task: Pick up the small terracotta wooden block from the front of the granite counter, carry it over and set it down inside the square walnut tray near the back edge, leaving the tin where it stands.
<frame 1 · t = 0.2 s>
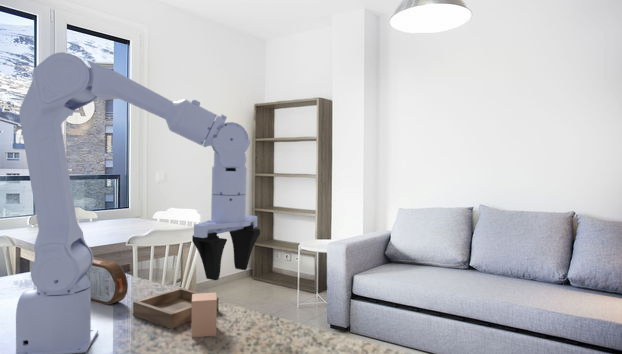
hand: (227, 273, 72), 10 cm above the kitchen counter, tool pointing down, fingers open, 7 cm apart
tin: (98, 301, 87), on the kitchen counter
block: (203, 331, 72), on the kitchen counter
tray: (176, 312, 80), on the kitchen counter
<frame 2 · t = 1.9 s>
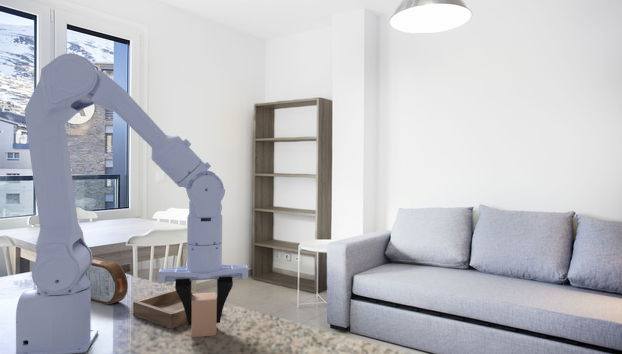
hand: (203, 321, 72), 2 cm above the kitchen counter, tool pointing down, fingers closed on block, 4 cm apart
block: (203, 331, 72), on the kitchen counter, touching gripper
everything else where it was.
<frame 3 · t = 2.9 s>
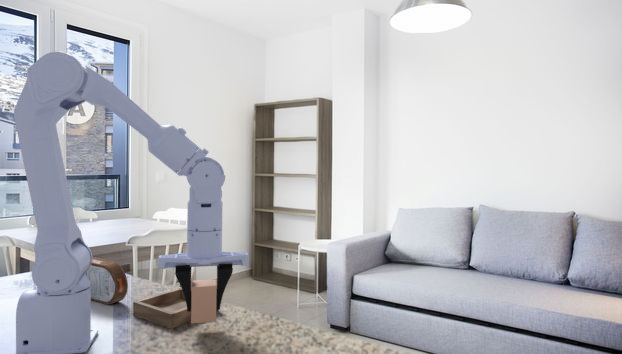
hand: (203, 308, 71), 4 cm above the kitchen counter, tool pointing down, fingers closed on block, 4 cm apart
block: (203, 318, 72), point 2 cm above the kitchen counter, touching gripper
everything else where it was.
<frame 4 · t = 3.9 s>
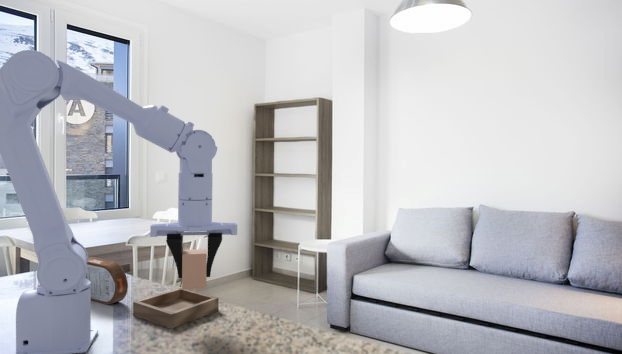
hand: (194, 276, 74), 9 cm above the kitchen counter, tool pointing down, fingers closed on block, 4 cm apart
block: (194, 285, 74), point 7 cm above the kitchen counter, touching gripper
everything else where it was.
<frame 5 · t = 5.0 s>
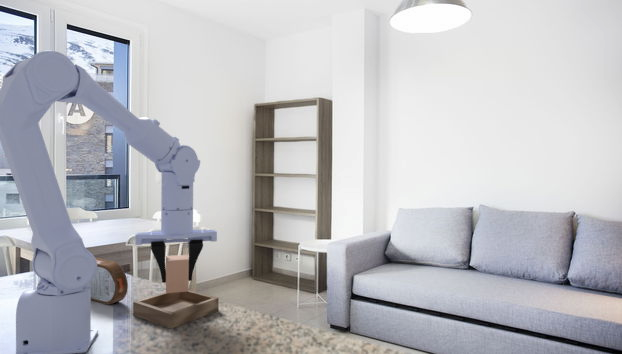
hand: (176, 280, 80), 6 cm above the kitchen counter, tool pointing down, fingers closed on block, 4 cm apart
block: (177, 289, 80), point 5 cm above the kitchen counter, touching gripper
everything else where it was.
when the fingers open (4 cm above the kitchen counter, at t = 5.9 s): block drops 2 cm, resting on tray.
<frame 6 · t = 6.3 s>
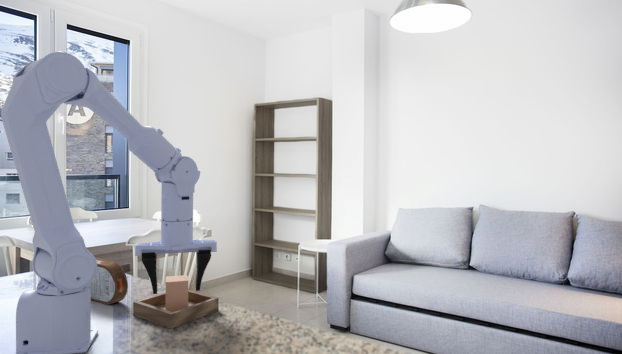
hand: (176, 290, 80), 4 cm above the kitchen counter, tool pointing down, fingers open, 7 cm apart
block: (176, 309, 80), point 1 cm above the kitchen counter, touching tray
everything else where it was.
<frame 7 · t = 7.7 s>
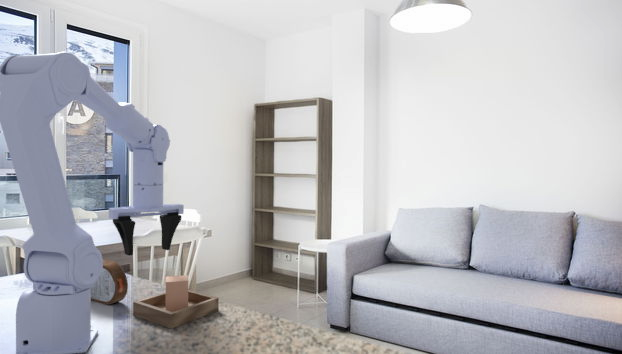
hand: (147, 251, 85), 10 cm above the kitchen counter, tool pointing down, fingers open, 7 cm apart
nothing on the kitchen counter moved.
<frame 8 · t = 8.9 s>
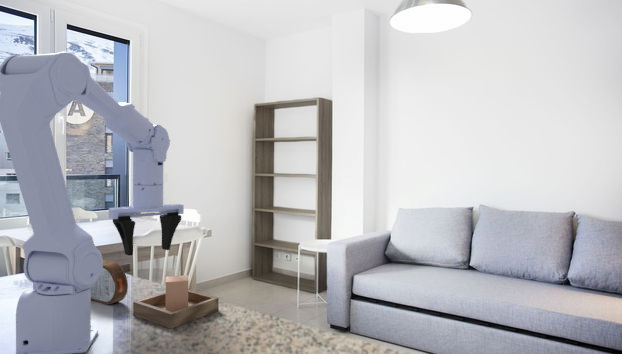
hand: (147, 251, 85), 10 cm above the kitchen counter, tool pointing down, fingers open, 7 cm apart
nothing on the kitchen counter moved.
at the end: block 0.1 cm off-centre on the tray, point 0.6 cm above the tray's base; block tilted 0°; the gripper is holding nothing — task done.
